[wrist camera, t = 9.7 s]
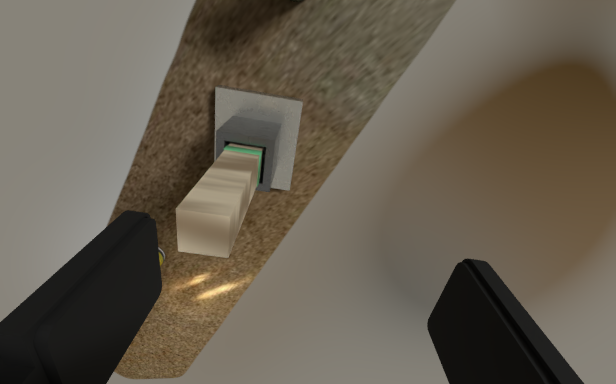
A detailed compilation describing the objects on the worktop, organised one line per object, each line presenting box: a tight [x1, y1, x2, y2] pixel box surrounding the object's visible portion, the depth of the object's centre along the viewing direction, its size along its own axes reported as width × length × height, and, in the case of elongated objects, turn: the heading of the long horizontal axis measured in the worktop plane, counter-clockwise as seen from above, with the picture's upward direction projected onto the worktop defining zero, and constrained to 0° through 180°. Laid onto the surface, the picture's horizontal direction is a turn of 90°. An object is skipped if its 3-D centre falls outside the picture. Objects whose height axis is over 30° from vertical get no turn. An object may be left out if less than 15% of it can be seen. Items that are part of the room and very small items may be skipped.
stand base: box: [214, 85, 303, 192], centre depth 40 cm, size 14×12×10 cm
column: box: [176, 143, 263, 258], centre depth 29 cm, size 4×4×16 cm
